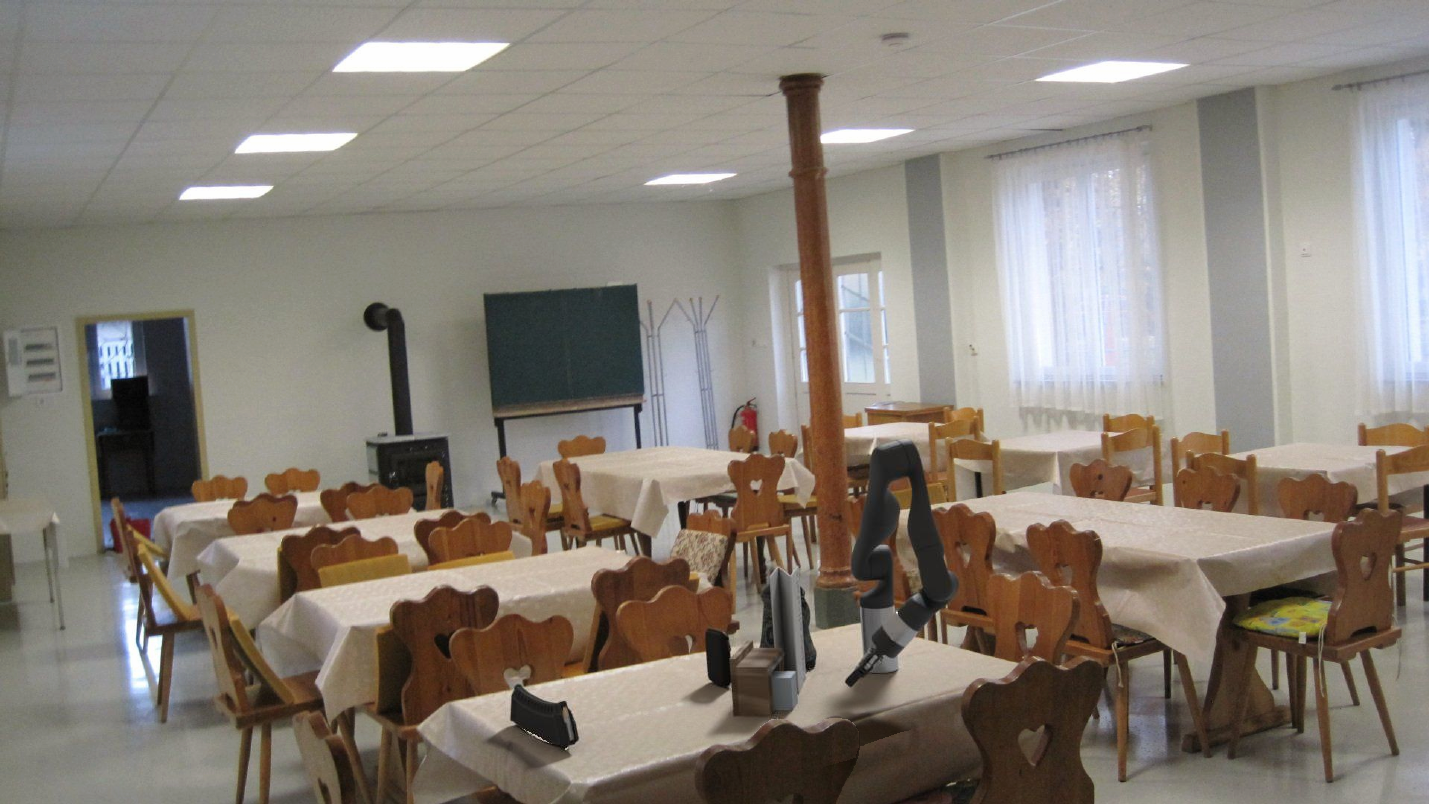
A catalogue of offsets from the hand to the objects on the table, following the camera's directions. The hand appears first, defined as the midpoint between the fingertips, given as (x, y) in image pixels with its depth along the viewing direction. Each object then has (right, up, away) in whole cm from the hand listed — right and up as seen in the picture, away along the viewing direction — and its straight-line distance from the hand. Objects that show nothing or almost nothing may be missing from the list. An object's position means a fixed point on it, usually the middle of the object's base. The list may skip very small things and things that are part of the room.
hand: (847, 684), depth 297 cm
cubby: (-21, -7, +6) cm, 23 cm away
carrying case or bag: (-30, -7, +26) cm, 41 cm away
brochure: (-12, -5, +21) cm, 25 cm away
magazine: (-72, -11, -8) cm, 74 cm away
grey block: (-18, -7, +5) cm, 20 cm away
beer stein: (-11, -5, +41) cm, 42 cm away
